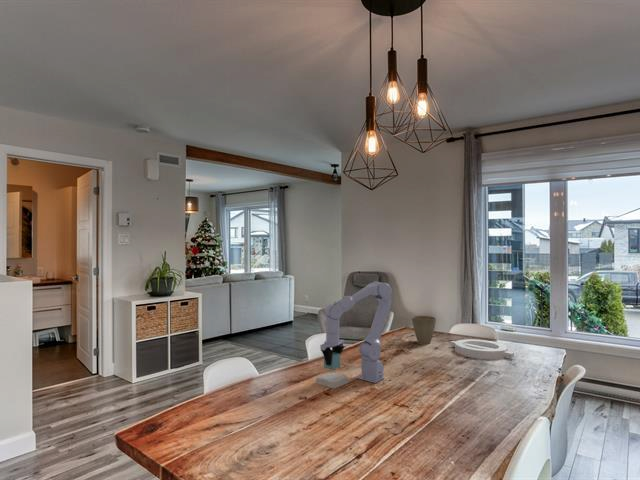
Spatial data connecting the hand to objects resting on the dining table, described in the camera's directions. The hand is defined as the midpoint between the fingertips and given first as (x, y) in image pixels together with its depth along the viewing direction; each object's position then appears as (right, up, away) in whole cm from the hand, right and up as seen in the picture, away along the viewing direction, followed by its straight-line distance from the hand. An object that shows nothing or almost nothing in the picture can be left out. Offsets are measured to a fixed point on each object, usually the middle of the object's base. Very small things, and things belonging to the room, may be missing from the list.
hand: (332, 363), depth 173 cm
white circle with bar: (+87, -11, +55) cm, 104 cm away
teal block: (0, -2, 0) cm, 2 cm away
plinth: (0, -8, 0) cm, 8 cm away
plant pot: (+60, -11, +77) cm, 98 cm away
